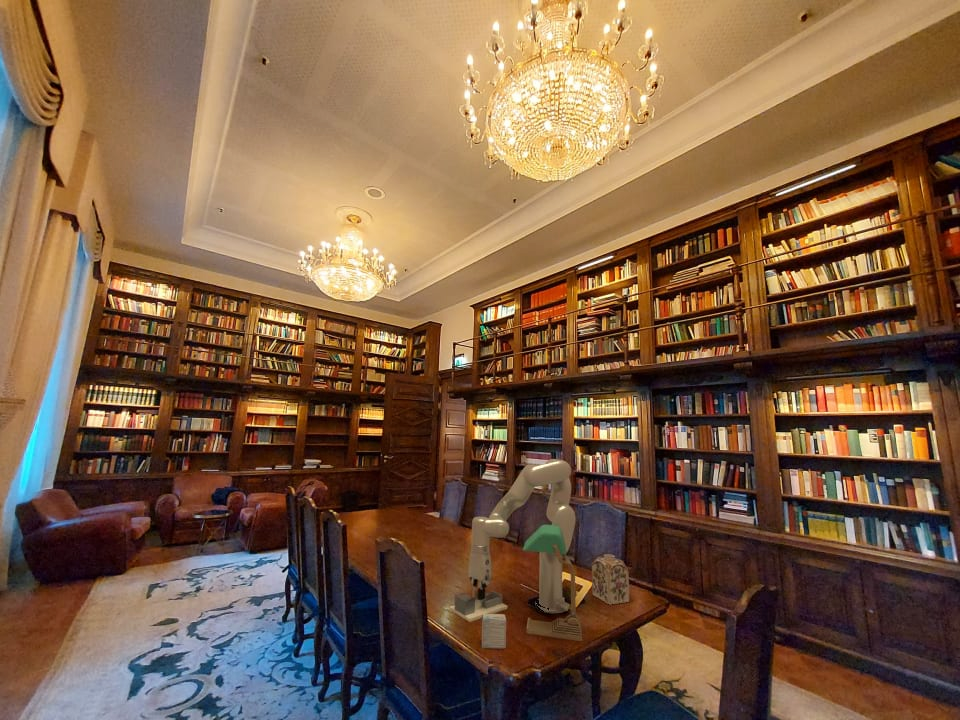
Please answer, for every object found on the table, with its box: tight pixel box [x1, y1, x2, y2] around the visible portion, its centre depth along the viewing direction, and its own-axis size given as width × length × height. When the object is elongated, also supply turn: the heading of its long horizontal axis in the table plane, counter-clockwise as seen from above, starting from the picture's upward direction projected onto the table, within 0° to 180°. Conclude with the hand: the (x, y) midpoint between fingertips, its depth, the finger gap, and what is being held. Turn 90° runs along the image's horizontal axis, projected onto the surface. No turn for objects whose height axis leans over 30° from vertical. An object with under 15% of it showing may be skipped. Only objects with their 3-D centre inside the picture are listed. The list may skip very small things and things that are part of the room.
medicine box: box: [481, 613, 507, 649], centre depth 126 cm, size 8×4×9 cm, turn 92°
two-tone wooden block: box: [471, 583, 485, 609], centre depth 151 cm, size 3×11×7 cm, turn 131°
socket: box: [454, 592, 475, 616], centre depth 148 cm, size 7×5×5 cm
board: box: [449, 589, 508, 623], centre depth 153 cm, size 13×20×4 cm, turn 131°
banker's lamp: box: [522, 524, 583, 642], centre depth 140 cm, size 16×21×35 cm
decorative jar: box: [591, 553, 630, 606], centre depth 170 cm, size 12×12×18 cm
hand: (478, 597), depth 153 cm, fingers closed on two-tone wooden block, 3 cm apart
